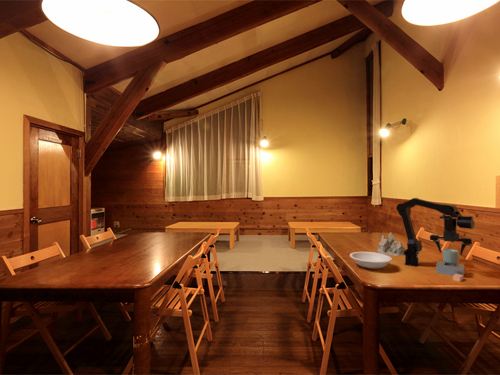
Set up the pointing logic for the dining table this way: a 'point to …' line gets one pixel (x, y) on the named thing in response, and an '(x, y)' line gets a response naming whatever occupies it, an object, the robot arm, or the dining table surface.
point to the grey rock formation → (390, 246)
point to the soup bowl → (371, 259)
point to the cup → (451, 256)
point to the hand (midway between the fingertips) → (450, 254)
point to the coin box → (449, 268)
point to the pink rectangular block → (457, 277)
